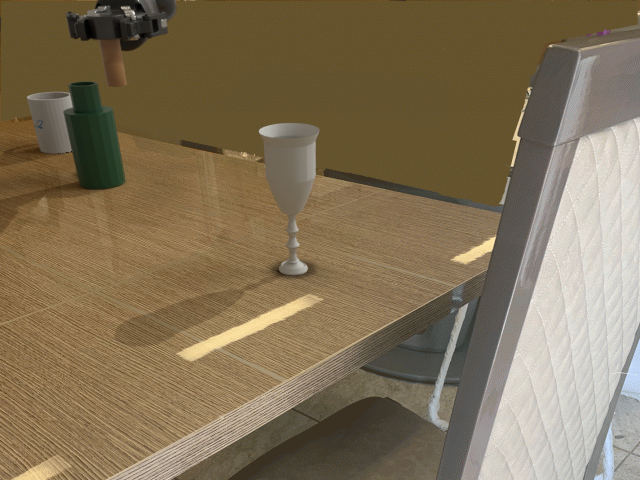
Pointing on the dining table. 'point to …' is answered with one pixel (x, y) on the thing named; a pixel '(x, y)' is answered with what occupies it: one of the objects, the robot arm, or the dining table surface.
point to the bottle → (93, 138)
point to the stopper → (109, 45)
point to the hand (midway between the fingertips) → (103, 30)
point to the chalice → (290, 177)
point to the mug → (50, 120)
